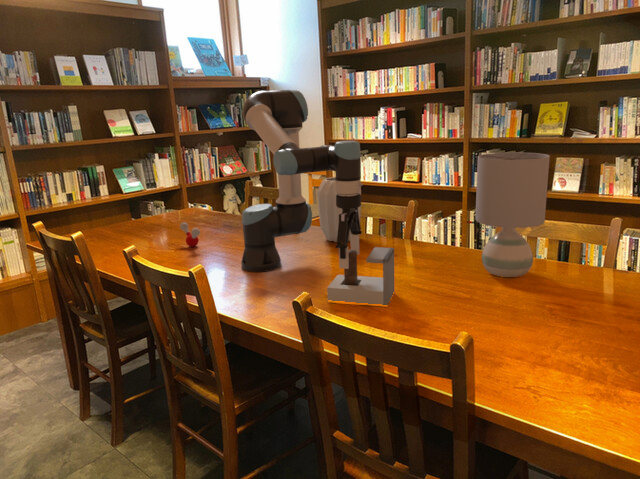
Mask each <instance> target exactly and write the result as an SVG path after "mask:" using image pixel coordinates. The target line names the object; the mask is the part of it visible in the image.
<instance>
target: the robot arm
mask: <svg viewBox="0 0 640 479" xmlns="http://www.w3.org/2000/svg"><path fill="white" fill-rule="evenodd" d="M241 112H242V117H243V120H244V123H245V124H246V125H247V127H248V128H249V129H251V130H252V131H255V132H256V134H257V135H258V136H259V137H260V138H261V141H263V143H264V144H265V145H266V147H267V148H268V150H269V151H270V152H271V153H272V154H273V158H272V160H273V168H275V169H274V170H275V172H276V173H277V176H278V177H277V180H278V198H276V200H275V206H273V205H272V204H271V203H258V204H255V205H251V206H248V207H247V208H245V209H244V210H243V211H242V213H241V218H242V220H241V224H242V231H243V232H242V233H243V242H244V243H243V245H244V249H243V254H242V258H241V262H240V263H241V269H242V270H244V271H247V272H250V273H251V272H253V273H254V272H255V273H256V272H257V273H258V272H259V273H260V272H261V273H262V272H268V271H273V270H276V269H278V268H280V267H281V266H282V261H281V260H282V259H281V256H280V253H279V252H278V251H279V250H278V249H277V246H276V238H279V237H285V236H291V235H299V234H303V233H306V232H307V231H309V230H310V228H311V226H312V222H313V211H312V207H311V205H310V203H308V202H307V198H305V197H304V196H303V194H302V178H301V177H302V175H301V174H307V173H309V174H310V173H318V172H327V171H330V172H331V171H332V172H335V176H334V177H335V179H336V180H335V183H336V193H337V195H336V206H337V207H338V208H342V210H343V211H342V213H341V214H339V225H338V235H337V243H336V245H335V248H337V249H338V264H339V265H338V267H339V268H338V269H343V270H344V269H348V268H349V258H348V250H349V246H348V244H349V242H350V250H355V251H357V255H360V235H362V232H363V231H362V227H361V219H360V220H359V214H358V207H360V206H361V207H362V194H361V195H360V194H359V193H360V192H361V193H362V189H361V188H362V186H363V182H361V178H362V177H361V176H362V173H361V172H362V170H361V169H362V168H361V167H362V164H361V162H362V161H361V160H362V159H361V158H362V154H361V144H360V142H359V141H357V140H340V141H336V142H335V143H334V145H332V144H323V145H320V146H314V147H313V146H312V147H301V148H300V131H301V130H302V129H303V123H305V122H306V121H308V116H309V107H308V103H307V100H306V97H305V96H304V94H303V93H302V92H301V91H300V90H296V89H294V90H293V89H280V90H275V89H274V90H259V91H255V92H254V93H252V94H251V95H249V96H248V97H247V99H246V100H245V102H244V104H243V107H242V111H241ZM350 231H351V235H350V241H349V242H348V238H349V232H350Z"/></svg>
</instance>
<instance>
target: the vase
mask: <svg viewBox="0 0 640 479" xmlns="http://www.w3.org/2000/svg"><path fill="white" fill-rule="evenodd" d="M335 180H336V179H335V176H333V177H332V176H331V177H326V178H323V180H322V181H321V182H320V185H319V186H318V189H317V191H316V197H317V200H316V201H317V206H318V207H317V210H318V219H319V223H320V224H319V225H320V230H321V231H322V233H323V235H324V237H325V239H326V240H327V241H329V242H330V241H334V242H333V243H336V242H337V235H338V225H339V214H341V213H342V211H343V210H342V208H338V207H337V206H336V195H337V193H336V183H335ZM359 194H360V195H361V196H362V191H361V192H360V193H359ZM361 207H362V205H361V206H360V207H358V214H359V220H360V221H361V213H362V210H361V209H362V208H361ZM350 235H351V231H350V232H349V238H348V241H349V242H350Z"/></svg>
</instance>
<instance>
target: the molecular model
mask: <svg viewBox="0 0 640 479" xmlns="http://www.w3.org/2000/svg"><path fill="white" fill-rule="evenodd" d="M179 228H180V230H182V231H183V232H184V233H185V235H186V238H185V243H186V245H187V246H188V247H191V248H192V247H193V248H195V247H196V246H197V245H198V244H199V237H198V236H200V234H201V231H200V228H198V227H194V228H192V229H191V232H190V230H189V224H188V223H187V222H181V223H180V225H179Z"/></svg>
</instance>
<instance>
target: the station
mask: <svg viewBox="0 0 640 479" xmlns="http://www.w3.org/2000/svg"><path fill="white" fill-rule="evenodd" d="M366 263H367V264H368V263H371V264H382V277H379V276H377V277H376V276H365V275H357V285H358V286H352V285H345V277H344V274H337V275H336V276H335V277H334V279H333V280H332V281H331V282H330V284H329V285H328V286H327V287H326V288H327V290H326V291H327V292H326V293H327V294H326V295H327V301H328V300H332V301H345V302H356V303H368V304H382V305H388V303H389V301H390V299H391V297H392V295H393V292H394V293H395V248H394V247H378V246H375V247H374V248H373V249H372V250H371V252H370V253H369V255H368V256H367V257H366ZM393 296H394V295H393ZM392 298H393V297H392ZM391 300H392V299H391ZM390 302H391V301H390ZM389 304H390V303H389Z"/></svg>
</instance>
